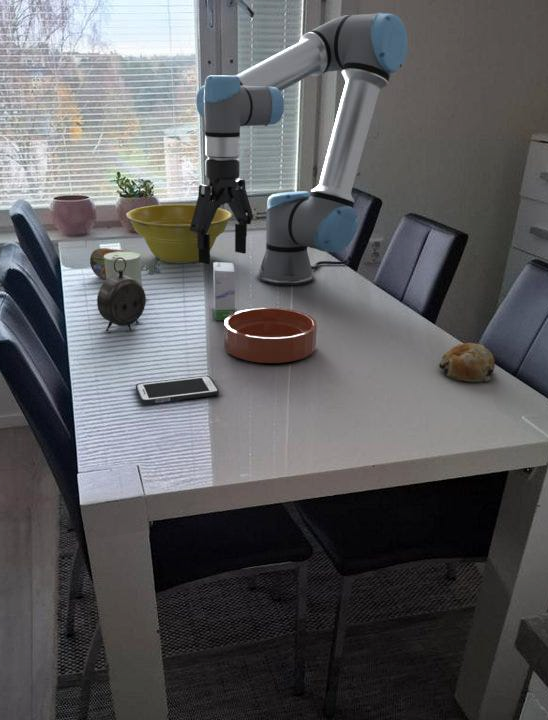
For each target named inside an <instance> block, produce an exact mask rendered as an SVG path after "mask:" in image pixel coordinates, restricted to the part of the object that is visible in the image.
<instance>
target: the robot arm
mask: <svg viewBox="0 0 548 720" xmlns="http://www.w3.org/2000/svg"><path fill="white" fill-rule="evenodd" d="M408 42H409V41H408V34H407V29H406V27H405V24H404V22H403V21H402V19H401V18H400V17H399V16H398V15H396V14H394V13H384V12H377V13H366V14H345V15H341V16H339V17H336V18H333V19H331V20H329V21H327V22H325V23H323V24H321V25H319V26H317V27H315V28H314V29H312V30H310V31H307V32H306V33H303V35H302V36H301V37H300V39H299V41H298V42H297V43H295V44H292V45H291V46H289V47H287V48H285V49H283V50H282V51H279V52H277V53H276V54H273V55H271V56H270V57H268V58H266V59H264V60H262V61H260V62H259V63H256V64H254V65H252V66H250V67H249V68H246V69H245V70H243V71H241V72H239V73H237V74H236V75H212V74H211V75H208V76H206V78H205V79H204V85H202V86H200V88H199V89H198V91H197V94H196V97H195V106H196V110H197V113H198V115H199V116H200V117H201V118H202V119H203V120H204V135H205V138H204V140H205V141H204V143H205V145H204V146H205V147H204V150H205V156H206V157H207V158H206V160H205V161H204V163H205V164H204V168H205V176H206V178H207V179H208V184H199V185H198V196H197V200H196V204H195V205H196V207H195V211H194V215H193V218H192V222H191V226H190V231H192V232H194V233H197V247H198V249H199V261H198V263H199V264H204V265H211V250H210V234H207V231H208V229H209V227H210V225H211V222H212V220H213V218H214V216H215V213H216V211H217V209H218V208H221V206H224V205H225V204H227V205H228V206H229V209H230V210H231V213H232V215H233V216H234V218H235V219H236V221H237V222H236V223H234V252H235V253H237V254H238V253H239V254H246V253H247V235H248V225H251V223H252V220H253V219H254V214H253V211H252V207H251V204H250V200H249V197H248V193H247V189H246V180H245V179H243V178H239V177H240V173H241V172H240V171H241V169H240V168H241V167H240V165H241V164H240V163H241V161H240V160H239V158H238V157H240V156H241V127H255V126H264V127H268V126H269V125H276V124H277V123H279V122H280V121H281V119H282V117H283V115H284V112H285V100H284V99H285V98H284V96H283V94H282V91H284V90H286V89H288V88H290V87H292V86H293V85H295V84H297V83H298V82H301V81H302V80H304V79H306V78H308V77H310V76H311V77H319V76H321V75H323V74H325V73H329V72H341V76H342V77H343V79H344V81H345V83H344V87H343V91H342V95H341V98H340V102H339V106H338V110H337V113H336V117H335V121H334V125H333V128H332V133H331V136H330V140H329V144H328V147H327V152H326V155H325V159H324V163H323V167H322V170H321V174H320V178H319V183H318V184H317V185H316V186H314V188H312V189H310V192H309V191H306V190H301V191H300V190H299V191H286V192H285V191H284V192H277V193H272V194H271V195H269V197H268V198H267V203H266V209H265V212H266V213H265V214H266V215H265V222H266V223H265V224H266V225H265V226H266V227H265V228H266V229H265V253H264V256H263V258H262V261H261V265H260V268H259V272H258V277H259V278H258V279H259V280H260V281H261V282H263V283H265V284H270V285H274V286H300V285H304V284H307V283H310V282H312V280H313V270H317V268H318V266H319V265H345V264H347V263H348V262H349V260H352V256H351V255H350V254H347V255H346V258H345V260H341V261H334V260H333V261H332V260H331V261H330V260H320V261H317V262H315V264H314V265H313V266H312V265H311V261H310V257H309V252H308V248H311V249H315V250H318V251H320V252H326V253H327V252H329V253H337V252H342V250H344V249H345V248H346V247H348V246H349V245H350V243H351V242H352V241H353V239H354V237H355V236H356V233H357V229H358V225H359V224H358V223H359V220H358V214H357V212H356V210H355V209H354V205H355V199H354V198H353V196H352V191H353V187H354V183H355V180H356V177H357V174H358V169H359V165H360V161H361V158H362V155H363V151H364V147H365V145H366V140H367V136H368V132H369V129H370V126H371V122H372V119H373V115H374V111H375V108H376V104H377V101H378V97H379V94H380V91H382V90H383V89H384V88H385V87H387V86H388V84H389V82H390V81H389V80H390V77H391V75H392V74H394V73H395V72H398V71H399V70H400V69H401V68H402V67H403V65H404V63H405V61H406V58H407V54H408V44H409V43H408ZM196 225H197V226H196ZM203 227H204V228H203Z"/></svg>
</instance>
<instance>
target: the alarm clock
mask: <svg viewBox="0 0 548 720" xmlns="http://www.w3.org/2000/svg"><path fill="white" fill-rule="evenodd" d="M118 259H123V258H122V257H119V258H117V259H116V260H115V262H114V269H115V271H116V272H118V273H119V275H114V276H112V277H110V278H108V279H105V281H104V282H103V283H102V284H101V286H100V288H99V290H98V292H97V298H96V305H97V311H98V312H99V314H100V316H101V317H102V319H104V320H105V321H107V322H108V323H107V327H106V329H105V332H107V333H108V332H109V330H110V328H111V327H112V325H114V326H115V325H116V326H118V327H127V329H128V331H129V332H131V331H132V327H131V325H133V324H134V323H135V324H139V319H140V318H141V316H142V315H143V314H144V310H145V307H146V302H147V299H146V296H147V295H146V292H145V290H144V287H143V285H142V286H141V284H140V283H139V282H137V281H136V280H134V279H132V278H129V277H127V276H125V275H123V274H122V273H123V271H124V270H125V268H126V261H125V260H124V259H123V260H124V262H125V267H124V269H123V270H119V271H117V270H116V268H115V263H116V261H117V260H118Z"/></svg>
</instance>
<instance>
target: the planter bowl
mask: <svg viewBox="0 0 548 720" xmlns="http://www.w3.org/2000/svg"><path fill="white" fill-rule="evenodd" d="M195 207H196V204H185V203H184V204H183V203H171V204H156V205H147V206H141V207H137V208H134V209H130V210H129V211H128V212H126V215H125V216H126V218H127V219H129V220H130V222H131V225H132V227H133V229H134V231H135V232H136V233H137V234H138V235H140V236H141V237H142V238H143V239H144V242H145V243H146V245H147V247H148V248H149V250H150V252H151V253H152V255H154V256H155V257H156V258H158V259H159V260H160V261H162V262H167V263H173V264H188V263H195V262H199V249H198V247H197V233H194V232H192V231H190V226H191V222H192V218H193V215H194V211H195ZM232 217H233V213H232V212H230V211H229V210H226V209H224V208H221V207H219V208H218V209H217V211H216V213H215V216H214V218H213V220H212V222H211V225H210V227H209V229H208V231H207V234H210V251H211V250H212V248H213V246H214V244H215V242H216V240H217V238H218V237H219V236H220V235H221V234H223V233H224V231H225V230H226V227H227V225H228V222H229V220H230V219H231V218H232ZM196 226H197V225H196ZM203 228H204V227H203Z"/></svg>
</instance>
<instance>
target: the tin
mask: <svg viewBox="0 0 548 720" xmlns="http://www.w3.org/2000/svg"><path fill="white" fill-rule="evenodd" d="M119 251H129V252H132V250H129V249H123V248H122V249H121V248H111V247H99V248H96V249H95V250H93V251H92V252H91V255H90V258H89V264H90V265H89V266H90V268H91V271H92V273H94V274H95V275H96V276H97V277H98V278H100V279H102V280H107V279H106V270H105V262H104V255H105V254H108V253H112V252H119Z"/></svg>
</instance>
